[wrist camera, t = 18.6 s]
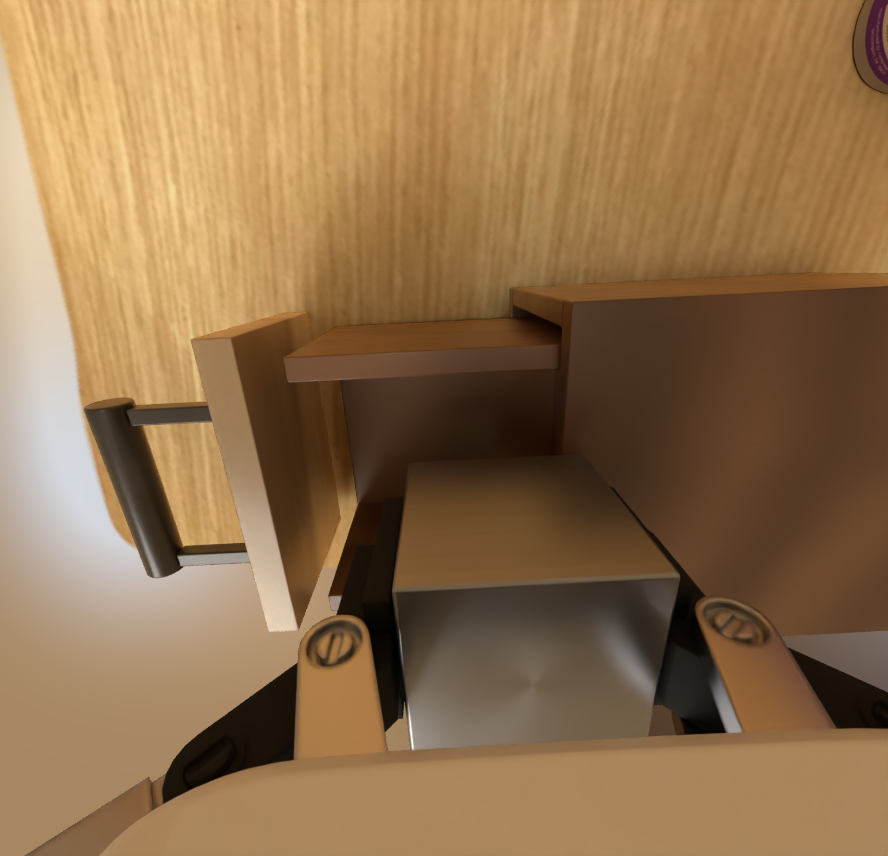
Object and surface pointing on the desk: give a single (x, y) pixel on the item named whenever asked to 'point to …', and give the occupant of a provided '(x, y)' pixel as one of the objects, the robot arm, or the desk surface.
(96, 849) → the robot arm
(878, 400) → the cabinet
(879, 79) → the container
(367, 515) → the drawer
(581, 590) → the block
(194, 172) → the desk surface
